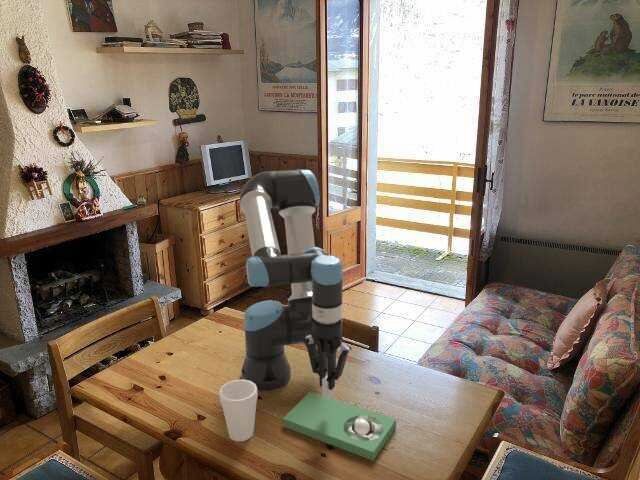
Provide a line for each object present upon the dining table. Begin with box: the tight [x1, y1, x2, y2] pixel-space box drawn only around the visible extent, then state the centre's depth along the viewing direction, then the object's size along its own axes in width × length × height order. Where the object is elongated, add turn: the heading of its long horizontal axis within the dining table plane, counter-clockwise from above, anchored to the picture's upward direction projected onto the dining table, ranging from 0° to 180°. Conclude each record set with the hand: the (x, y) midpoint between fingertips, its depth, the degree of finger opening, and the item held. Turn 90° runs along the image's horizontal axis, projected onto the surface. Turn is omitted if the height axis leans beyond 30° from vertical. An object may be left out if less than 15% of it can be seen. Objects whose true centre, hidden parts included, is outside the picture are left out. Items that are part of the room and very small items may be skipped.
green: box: [282, 391, 397, 461], centre depth 136 cm, size 26×14×2 cm, turn 60°
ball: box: [354, 419, 371, 435], centre depth 134 cm, size 4×4×4 cm
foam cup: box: [218, 378, 259, 442], centre depth 133 cm, size 10×9×13 cm
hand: (327, 397), depth 137 cm, fingers closed
